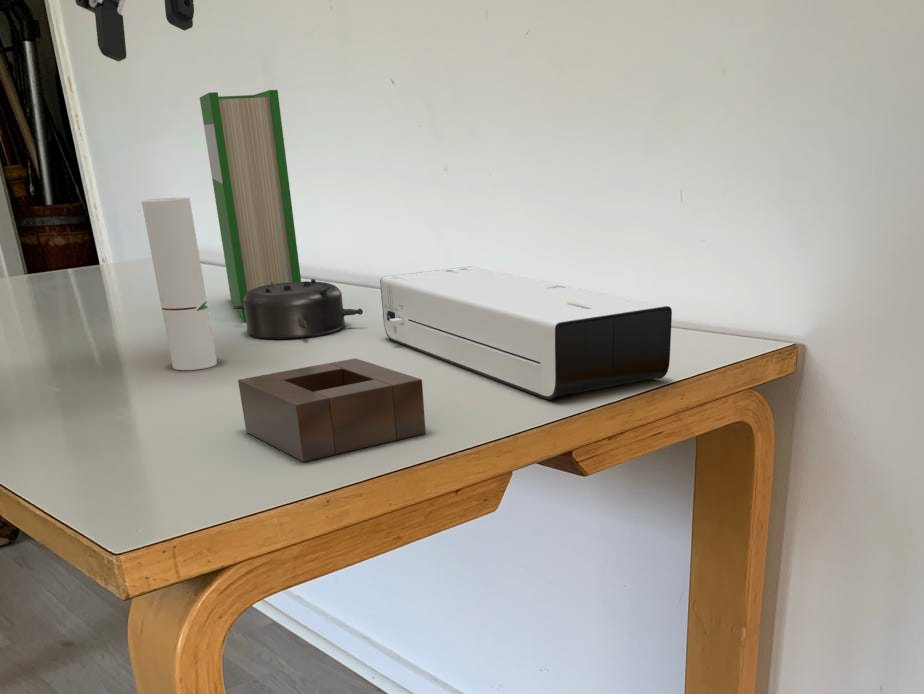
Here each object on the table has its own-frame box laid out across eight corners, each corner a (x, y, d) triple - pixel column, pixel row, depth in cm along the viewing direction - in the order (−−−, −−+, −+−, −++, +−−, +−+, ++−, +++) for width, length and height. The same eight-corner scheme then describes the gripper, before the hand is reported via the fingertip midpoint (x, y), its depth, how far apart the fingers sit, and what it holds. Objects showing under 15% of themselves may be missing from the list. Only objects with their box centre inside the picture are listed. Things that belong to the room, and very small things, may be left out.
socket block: (303, 462, 68) (295, 404, 66) (245, 432, 75) (237, 379, 73) (426, 433, 73) (422, 379, 71) (360, 407, 80) (355, 357, 78)
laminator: (669, 382, 83) (672, 305, 80) (545, 406, 78) (544, 325, 75) (476, 324, 110) (474, 265, 107) (375, 339, 105) (369, 278, 102)
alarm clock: (372, 324, 112) (276, 322, 121) (365, 274, 110) (268, 275, 119) (301, 343, 104) (205, 338, 114) (293, 289, 102) (195, 289, 111)
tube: (185, 372, 95) (154, 202, 88) (164, 366, 98) (133, 200, 91) (225, 364, 97) (198, 198, 90) (203, 358, 100) (176, 197, 93)
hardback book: (305, 315, 120) (277, 89, 108) (243, 321, 118) (208, 92, 107) (286, 295, 135) (259, 94, 123) (231, 300, 133) (199, 97, 122)
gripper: (34, -156, 82) (54, 52, 84) (146, -237, 74) (166, -5, 76) (111, -111, 88) (129, 82, 90) (222, -181, 80) (239, 32, 82)
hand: (146, 42), depth 83 cm, fingers open, 8 cm apart
